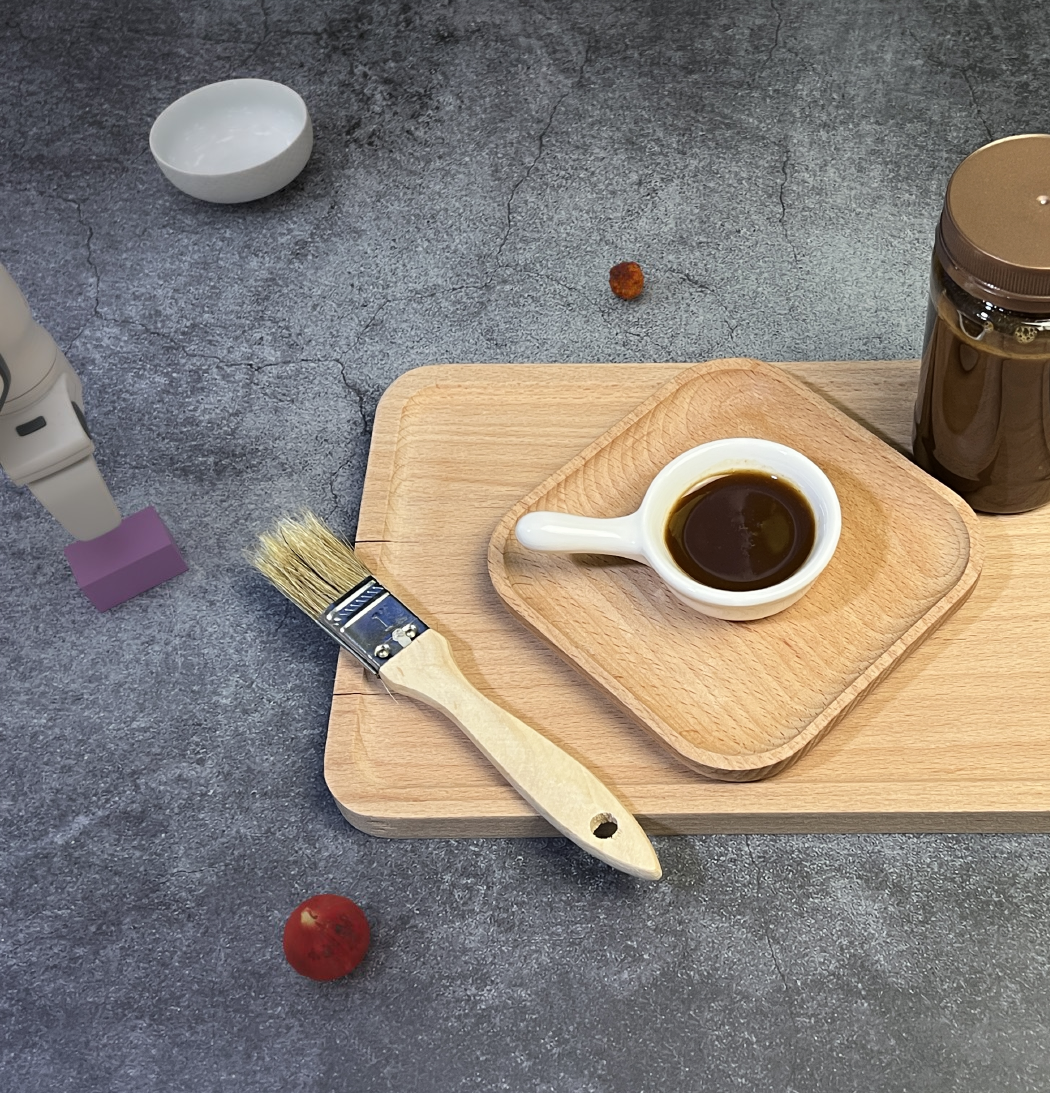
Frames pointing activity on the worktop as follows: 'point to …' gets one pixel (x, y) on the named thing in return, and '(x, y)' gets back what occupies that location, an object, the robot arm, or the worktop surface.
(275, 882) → the worktop surface
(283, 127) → the cereal bowl
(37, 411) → the robot arm
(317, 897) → the red rounded lump
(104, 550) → the block
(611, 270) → the meatball
